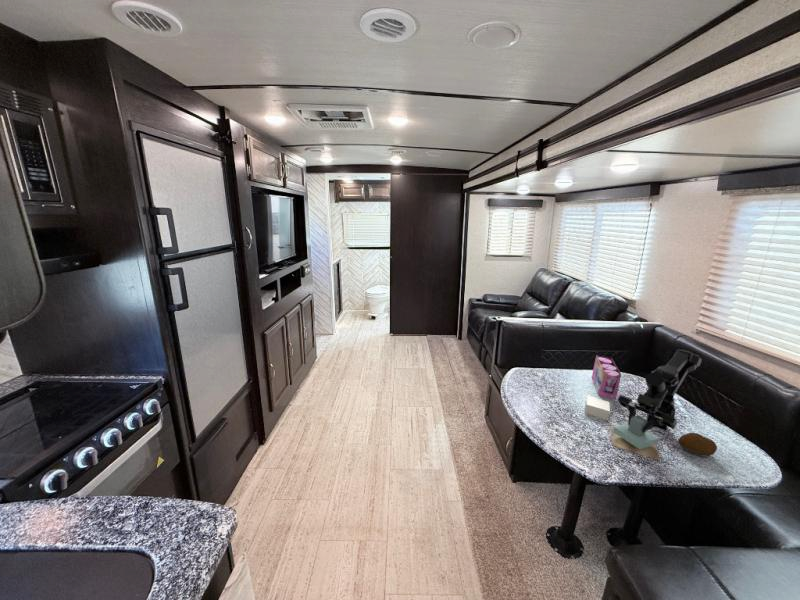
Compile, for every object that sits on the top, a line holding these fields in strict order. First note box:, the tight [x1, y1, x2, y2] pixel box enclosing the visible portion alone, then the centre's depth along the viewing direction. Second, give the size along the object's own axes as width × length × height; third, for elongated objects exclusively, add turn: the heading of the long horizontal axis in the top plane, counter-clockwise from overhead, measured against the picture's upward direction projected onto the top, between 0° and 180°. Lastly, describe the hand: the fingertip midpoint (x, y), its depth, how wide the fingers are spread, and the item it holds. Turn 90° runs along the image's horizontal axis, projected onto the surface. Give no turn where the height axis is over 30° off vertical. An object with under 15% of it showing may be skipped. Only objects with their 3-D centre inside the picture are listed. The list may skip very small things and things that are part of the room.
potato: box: [677, 432, 718, 457], centre depth 121 cm, size 8×12×8 cm, turn 87°
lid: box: [613, 414, 660, 449], centre depth 124 cm, size 11×11×8 cm
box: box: [584, 395, 611, 421], centre depth 145 cm, size 9×9×4 cm
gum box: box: [591, 355, 622, 400], centre depth 166 cm, size 24×8×14 cm, turn 157°
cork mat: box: [610, 424, 661, 462], centre depth 126 cm, size 15×15×1 cm
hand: (635, 428), depth 123 cm, fingers closed on lid, 5 cm apart
